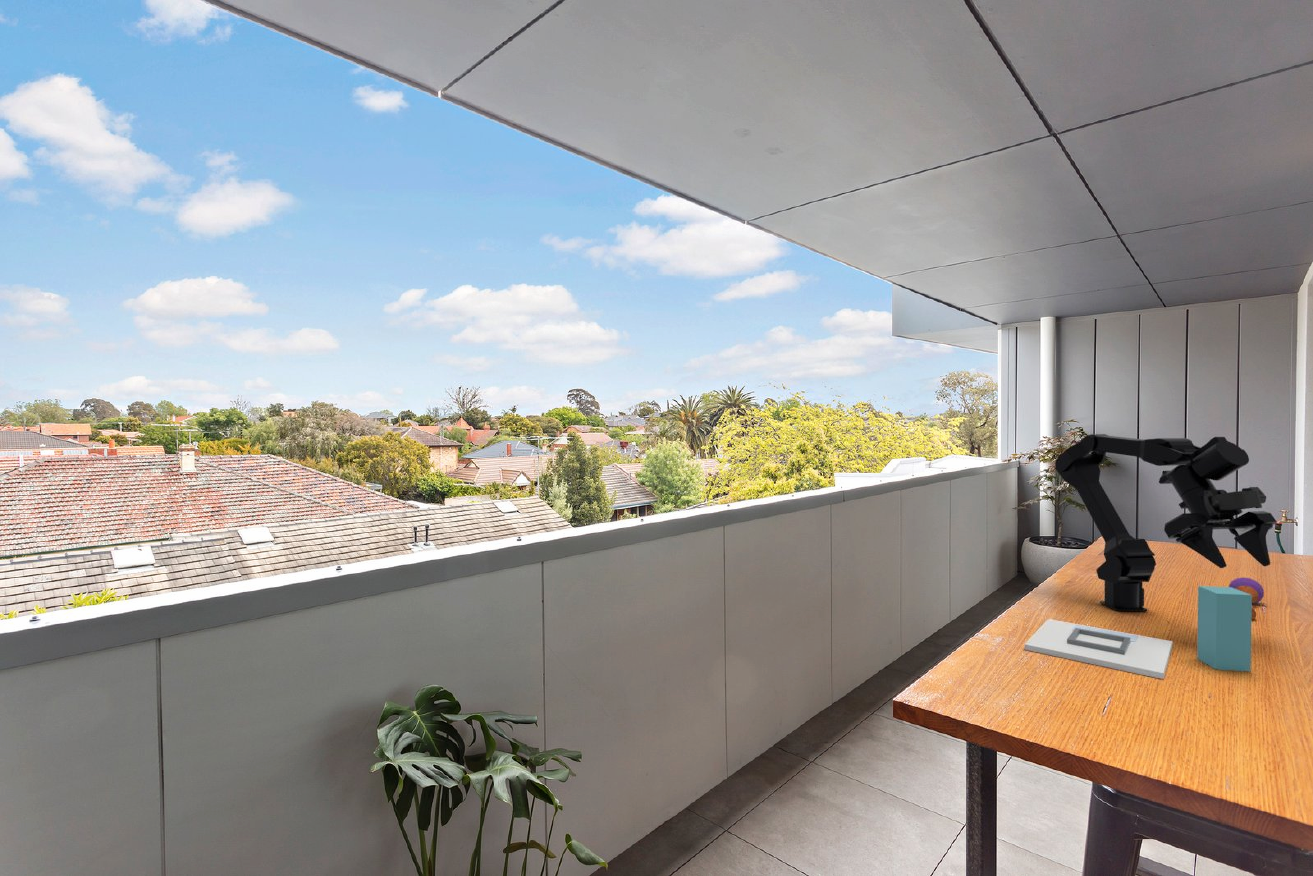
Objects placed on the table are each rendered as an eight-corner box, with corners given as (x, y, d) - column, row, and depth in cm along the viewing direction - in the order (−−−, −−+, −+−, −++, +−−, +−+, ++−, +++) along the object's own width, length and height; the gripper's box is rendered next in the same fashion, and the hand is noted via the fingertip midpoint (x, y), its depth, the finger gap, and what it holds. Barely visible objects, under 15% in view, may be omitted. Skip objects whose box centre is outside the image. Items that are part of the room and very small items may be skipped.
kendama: (1223, 599, 134) (1226, 575, 148) (1230, 626, 133) (1232, 599, 148) (1261, 599, 129) (1260, 574, 144) (1268, 627, 129) (1266, 600, 143)
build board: (1048, 623, 129) (1048, 615, 129) (1172, 646, 116) (1172, 637, 116) (1024, 649, 115) (1024, 639, 115) (1163, 679, 101) (1163, 668, 101)
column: (1197, 658, 110) (1198, 586, 110) (1230, 660, 109) (1231, 587, 109) (1215, 669, 105) (1216, 593, 105) (1250, 672, 104) (1251, 595, 104)
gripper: (1188, 472, 115) (1239, 550, 106) (1275, 470, 117) (1332, 546, 109) (1144, 501, 124) (1187, 574, 116) (1225, 499, 127) (1274, 571, 118)
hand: (1245, 566), depth 114 cm, fingers open, 9 cm apart
